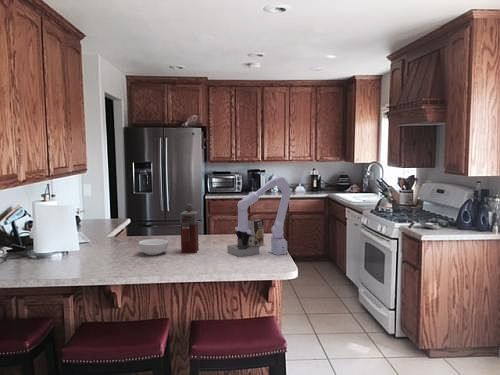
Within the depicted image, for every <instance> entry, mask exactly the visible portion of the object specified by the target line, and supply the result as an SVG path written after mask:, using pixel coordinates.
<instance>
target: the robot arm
mask: <svg viewBox="0 0 500 375" xmlns="http://www.w3.org/2000/svg"><path fill="white" fill-rule="evenodd" d="M276 187H277V188H278V189H279V190H280V192H281V198H280V200H279V206H278V209H277V213H276V218H275V220H274V224H273V226H271V228H270V230H271V233H272V234H271V236H270V242H271V243H270V247H271V248H270V249H271V250H268V253H270V254H272V255H273V254H274V255H275V256H279V255H285V254H289V252H288V241H287V240H286V238H284V223H285V218H286V215H287V211H288V207H289V203H290V199H291V194H292V190H291V188H290V185H289V182H288V180H287V179H286V178H285V177H283V176H282V175H277V176H275V177H274V178H271V179H270V180H269V181H267V182H266V183H265V184H264V185H262V186H261V187H260V188H258V190H256V191H249V192H248V194H247V195H246V196H245V197H242V198H241V200H239V201H238V203H237V226H235V227H234V230H235V235H236V237H237V239H238V238H242V239H243V245H244V246H245V245H247V243H248V239H249V237H250V235H251V230H249V229H248V220H249V217H248V216H249V212H248V209H249V207H251V206H252V205H254V204H255V203H256V202H258V201H259V199H260V196H262V195H263V194H264V193H266V192H267V191H268V190H270V189H275V188H276Z"/></svg>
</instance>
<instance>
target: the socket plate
mask: <svg viewBox="0 0 500 375" xmlns="http://www.w3.org/2000/svg"><path fill="white" fill-rule="evenodd" d="M226 252H227V253H228V254H230V253H231V255H234V256H235V257H238V258H243V257H249V256H250V257H251V256H256V255H260V246H258V247H257V246H254V245H251V244H249V246H248V247H242V248H240V247H238V243H237V244H229V245H228V244H227V251H226Z"/></svg>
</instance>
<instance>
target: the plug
mask: <svg viewBox="0 0 500 375" xmlns="http://www.w3.org/2000/svg"><path fill="white" fill-rule="evenodd" d="M237 244H238V247H240V248H242V247H248V246H249V239H248V243H247V245H245V246H244V245H243V239H242V238H238V237H237Z"/></svg>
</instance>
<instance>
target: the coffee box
mask: <svg viewBox="0 0 500 375" xmlns="http://www.w3.org/2000/svg"><path fill="white" fill-rule="evenodd" d="M264 221H265V220H264V219H261V218H254V219H248V229H249V230H251V235H250V237H249V244H251V245H254V246H258V247H260V245H261V246H264V245H265V243H264V242H265V240H264V237H265V236H264V232H265V231H264V229H265V228H264V225H265V223H264ZM263 244H264V245H263Z"/></svg>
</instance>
